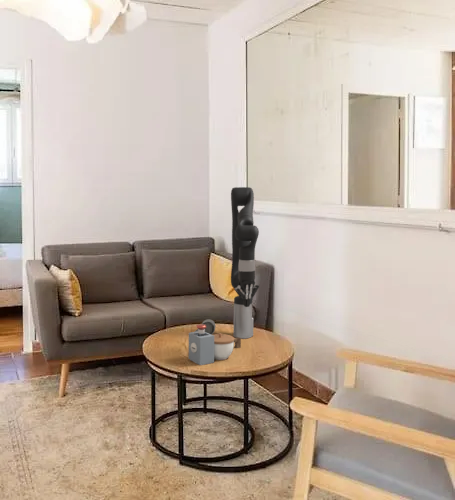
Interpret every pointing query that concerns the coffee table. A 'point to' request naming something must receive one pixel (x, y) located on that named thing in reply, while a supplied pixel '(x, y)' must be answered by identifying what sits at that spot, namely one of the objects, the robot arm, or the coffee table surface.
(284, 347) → the coffee table surface
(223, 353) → the lidded bowl
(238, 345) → the brown curved bar
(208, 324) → the ceramic mug
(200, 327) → the plunger
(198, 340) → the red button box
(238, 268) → the robot arm
